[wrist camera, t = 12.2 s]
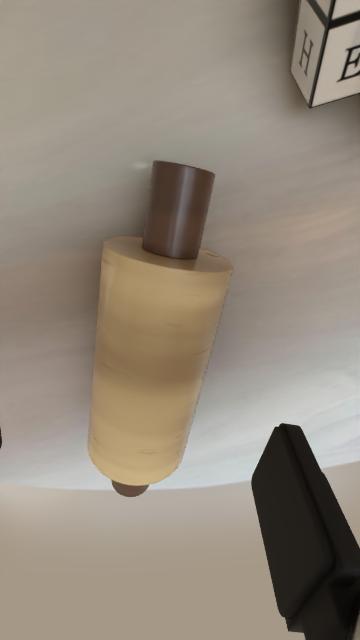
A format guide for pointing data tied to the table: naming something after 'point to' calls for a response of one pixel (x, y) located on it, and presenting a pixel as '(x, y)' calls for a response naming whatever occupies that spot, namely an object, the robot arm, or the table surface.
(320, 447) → the table surface
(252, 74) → the table surface
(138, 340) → the rolling pin
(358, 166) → the table surface
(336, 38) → the building blocks
